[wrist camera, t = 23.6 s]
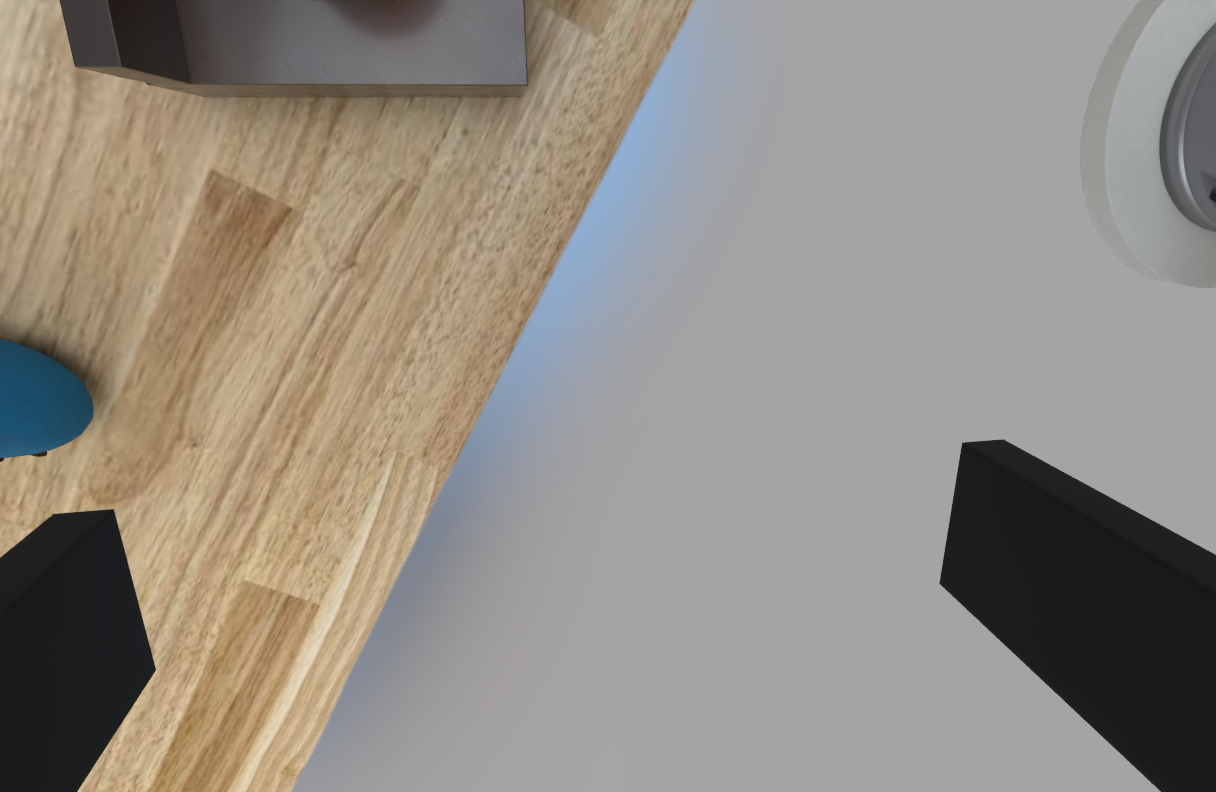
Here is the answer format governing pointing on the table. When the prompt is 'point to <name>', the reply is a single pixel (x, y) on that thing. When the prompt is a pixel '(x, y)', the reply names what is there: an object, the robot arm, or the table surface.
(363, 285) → the table surface
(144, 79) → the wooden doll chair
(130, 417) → the table surface
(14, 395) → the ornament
